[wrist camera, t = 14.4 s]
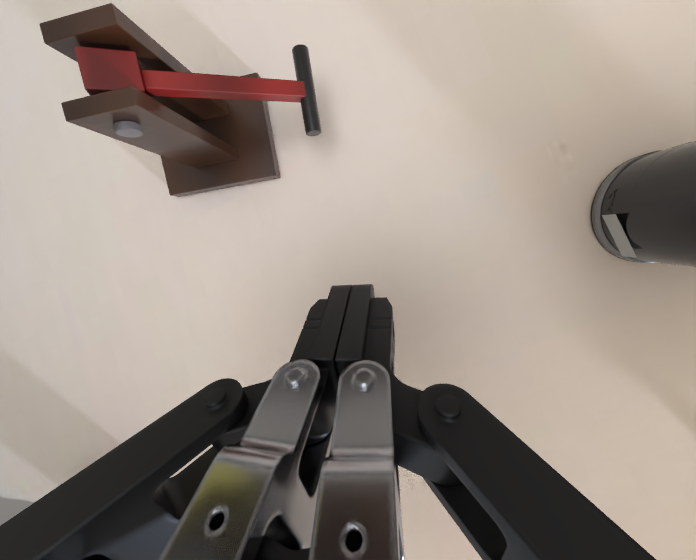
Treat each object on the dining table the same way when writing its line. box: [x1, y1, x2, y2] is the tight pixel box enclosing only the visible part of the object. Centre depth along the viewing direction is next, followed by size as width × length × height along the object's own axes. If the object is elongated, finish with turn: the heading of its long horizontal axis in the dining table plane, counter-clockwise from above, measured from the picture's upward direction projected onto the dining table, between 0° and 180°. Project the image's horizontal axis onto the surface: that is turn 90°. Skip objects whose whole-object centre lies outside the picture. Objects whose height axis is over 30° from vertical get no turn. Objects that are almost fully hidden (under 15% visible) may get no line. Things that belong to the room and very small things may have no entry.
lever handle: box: [74, 45, 321, 136], centre depth 20 cm, size 14×6×2 cm, turn 100°
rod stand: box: [40, 3, 280, 197], centre depth 22 cm, size 11×9×13 cm
